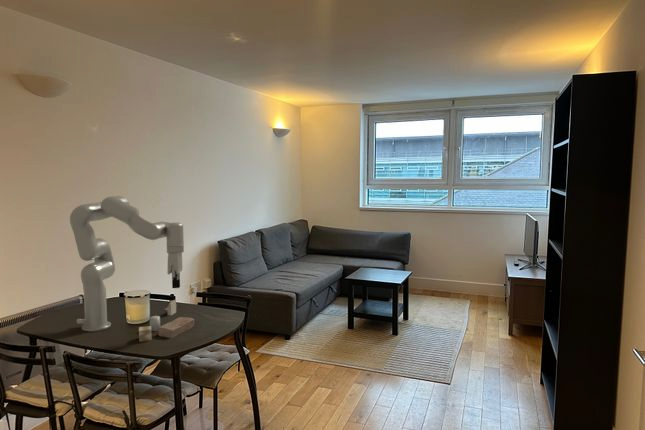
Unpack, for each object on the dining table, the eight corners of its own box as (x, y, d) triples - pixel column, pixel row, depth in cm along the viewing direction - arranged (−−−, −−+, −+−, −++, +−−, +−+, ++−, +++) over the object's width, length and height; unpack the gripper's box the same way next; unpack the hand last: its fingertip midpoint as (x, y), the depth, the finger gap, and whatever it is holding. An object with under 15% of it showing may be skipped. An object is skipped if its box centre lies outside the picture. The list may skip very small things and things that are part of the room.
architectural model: (164, 315, 235) (164, 302, 234) (171, 311, 241) (171, 298, 241) (170, 316, 234) (170, 302, 233) (177, 312, 241) (177, 298, 240)
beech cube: (139, 341, 198) (138, 330, 197) (139, 337, 202) (139, 327, 202) (151, 340, 199) (150, 329, 199) (151, 336, 204) (151, 325, 204)
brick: (172, 338, 202) (171, 328, 201) (157, 336, 205) (157, 326, 205) (195, 327, 217) (194, 318, 217) (181, 325, 220) (180, 316, 220)
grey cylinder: (148, 331, 210) (148, 319, 210) (151, 328, 215) (151, 315, 214) (158, 331, 211) (158, 318, 210) (161, 327, 215) (161, 315, 215)
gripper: (171, 246, 214) (171, 283, 216) (162, 252, 199) (163, 292, 201) (186, 246, 215) (187, 283, 217) (179, 251, 200) (180, 291, 202)
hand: (176, 287), depth 209 cm, fingers closed
